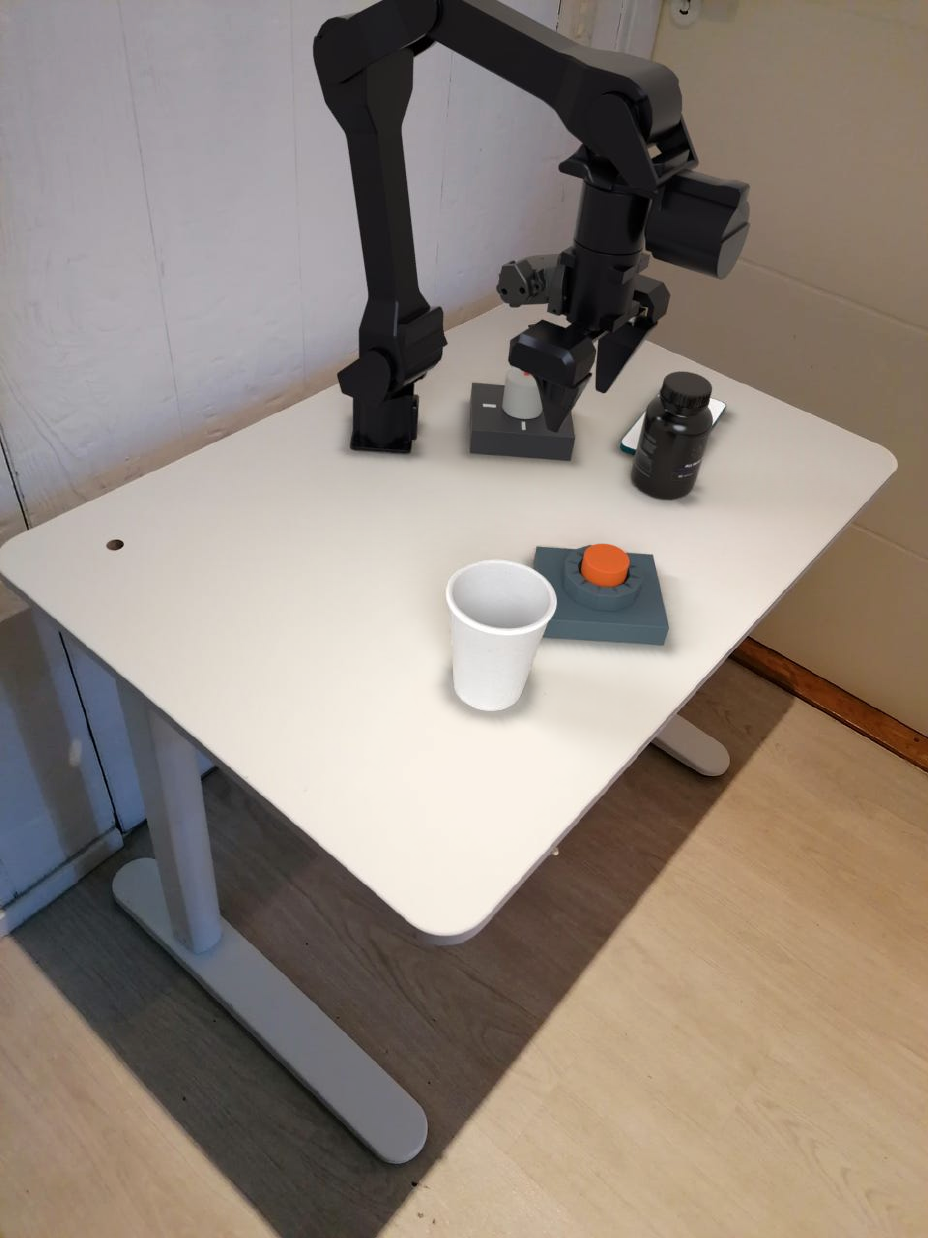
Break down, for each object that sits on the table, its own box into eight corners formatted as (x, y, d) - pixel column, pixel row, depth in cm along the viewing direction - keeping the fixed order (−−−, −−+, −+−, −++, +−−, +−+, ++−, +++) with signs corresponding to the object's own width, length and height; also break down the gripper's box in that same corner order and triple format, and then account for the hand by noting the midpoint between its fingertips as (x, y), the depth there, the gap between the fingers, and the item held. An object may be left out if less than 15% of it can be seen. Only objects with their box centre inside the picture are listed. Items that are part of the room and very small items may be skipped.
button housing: (538, 637, 84) (545, 603, 81) (533, 564, 91) (539, 530, 89) (663, 645, 85) (674, 612, 82) (648, 572, 92) (657, 538, 89)
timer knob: (543, 420, 105) (548, 384, 102) (502, 417, 104) (507, 381, 102) (541, 399, 108) (546, 364, 105) (501, 396, 108) (506, 361, 105)
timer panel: (469, 453, 104) (472, 428, 102) (469, 405, 112) (472, 380, 109) (570, 461, 105) (575, 436, 103) (564, 412, 112) (568, 388, 110)
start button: (582, 586, 84) (586, 570, 83) (578, 557, 87) (582, 541, 86) (628, 589, 84) (632, 573, 83) (622, 560, 87) (626, 544, 86)
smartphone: (683, 474, 105) (727, 410, 116) (685, 467, 104) (729, 403, 115) (615, 450, 107) (664, 389, 118) (617, 443, 107) (666, 382, 117)
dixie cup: (559, 700, 79) (579, 609, 72) (473, 738, 75) (486, 646, 68) (501, 636, 84) (515, 546, 77) (417, 669, 80) (425, 577, 73)
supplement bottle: (692, 507, 100) (722, 408, 92) (627, 495, 101) (650, 395, 93) (695, 469, 105) (723, 371, 97) (632, 458, 106) (655, 360, 97)
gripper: (577, 186, 87) (552, 346, 98) (462, 244, 75) (447, 419, 86) (690, 221, 83) (651, 383, 94) (587, 288, 71) (556, 466, 82)
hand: (577, 410), depth 89 cm, fingers open, 9 cm apart
